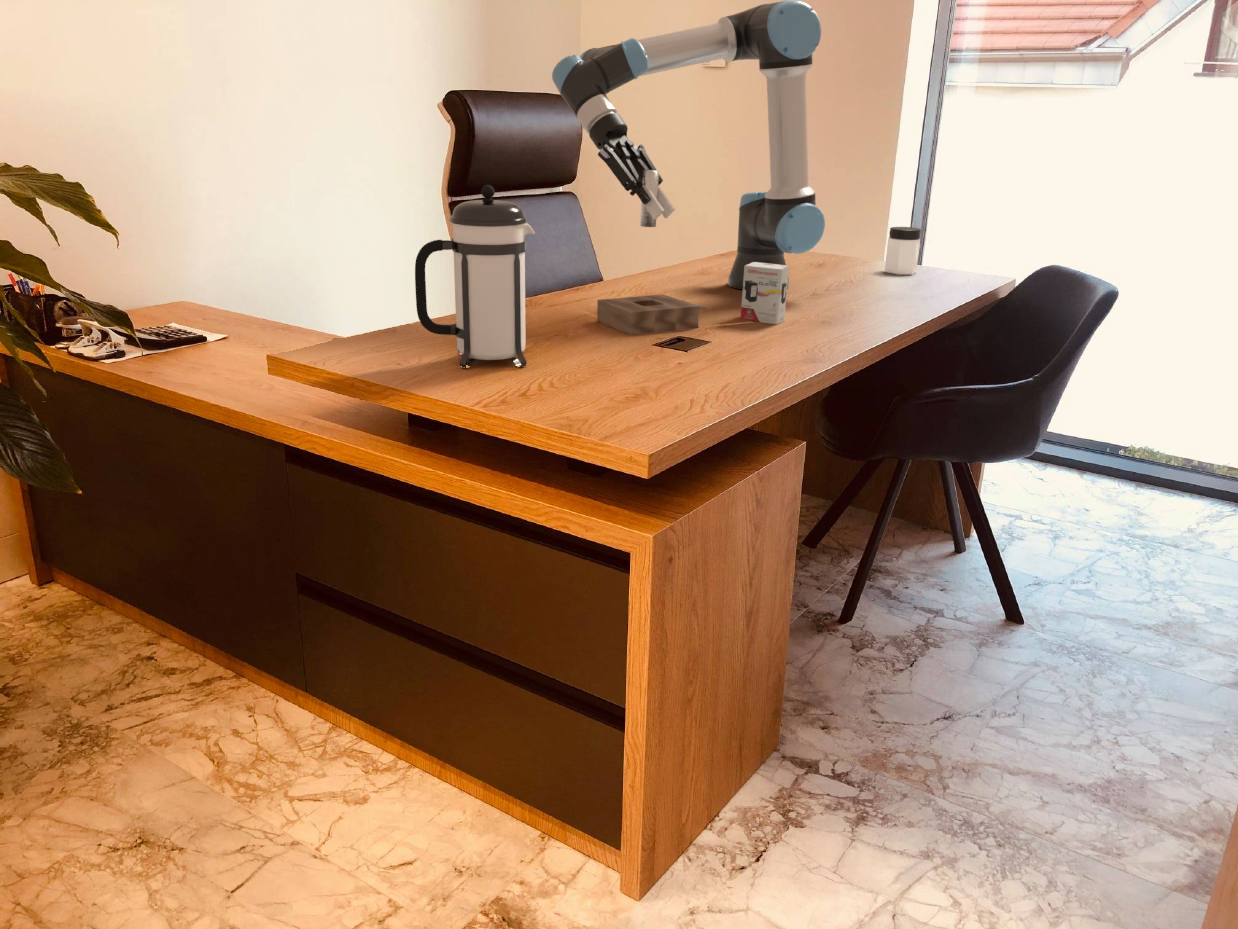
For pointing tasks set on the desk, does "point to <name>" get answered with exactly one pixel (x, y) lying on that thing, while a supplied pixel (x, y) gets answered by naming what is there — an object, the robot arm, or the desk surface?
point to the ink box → (764, 292)
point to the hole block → (647, 314)
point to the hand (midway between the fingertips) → (664, 214)
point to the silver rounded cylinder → (652, 182)
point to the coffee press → (483, 280)
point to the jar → (902, 250)
